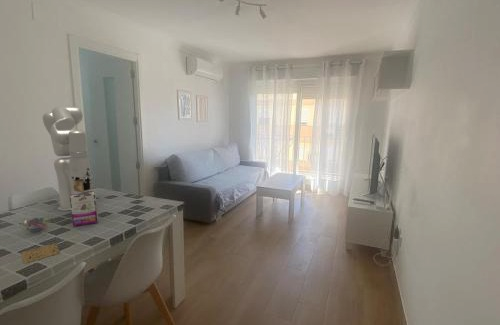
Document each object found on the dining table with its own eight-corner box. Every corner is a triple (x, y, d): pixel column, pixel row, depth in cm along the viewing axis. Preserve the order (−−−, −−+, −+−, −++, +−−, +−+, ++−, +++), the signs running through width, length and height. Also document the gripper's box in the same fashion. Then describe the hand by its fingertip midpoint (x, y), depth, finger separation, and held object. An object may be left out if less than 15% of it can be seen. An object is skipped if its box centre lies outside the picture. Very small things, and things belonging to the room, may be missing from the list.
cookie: (20, 253, 107) (20, 251, 107) (56, 244, 116) (55, 242, 116) (23, 265, 99) (22, 263, 99) (61, 254, 108) (60, 252, 107)
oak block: (73, 191, 133) (72, 180, 132) (83, 188, 138) (82, 178, 137) (81, 192, 131) (80, 181, 130) (91, 189, 136) (90, 179, 135)
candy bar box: (98, 219, 142) (95, 191, 139) (97, 223, 138) (95, 193, 135) (74, 223, 137) (71, 193, 134) (72, 226, 133) (69, 196, 130)
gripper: (59, 155, 130) (63, 189, 133) (85, 157, 125) (88, 192, 128) (73, 153, 137) (77, 185, 140) (98, 155, 132) (101, 188, 135)
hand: (82, 188), depth 134 cm, fingers closed on oak block, 5 cm apart
